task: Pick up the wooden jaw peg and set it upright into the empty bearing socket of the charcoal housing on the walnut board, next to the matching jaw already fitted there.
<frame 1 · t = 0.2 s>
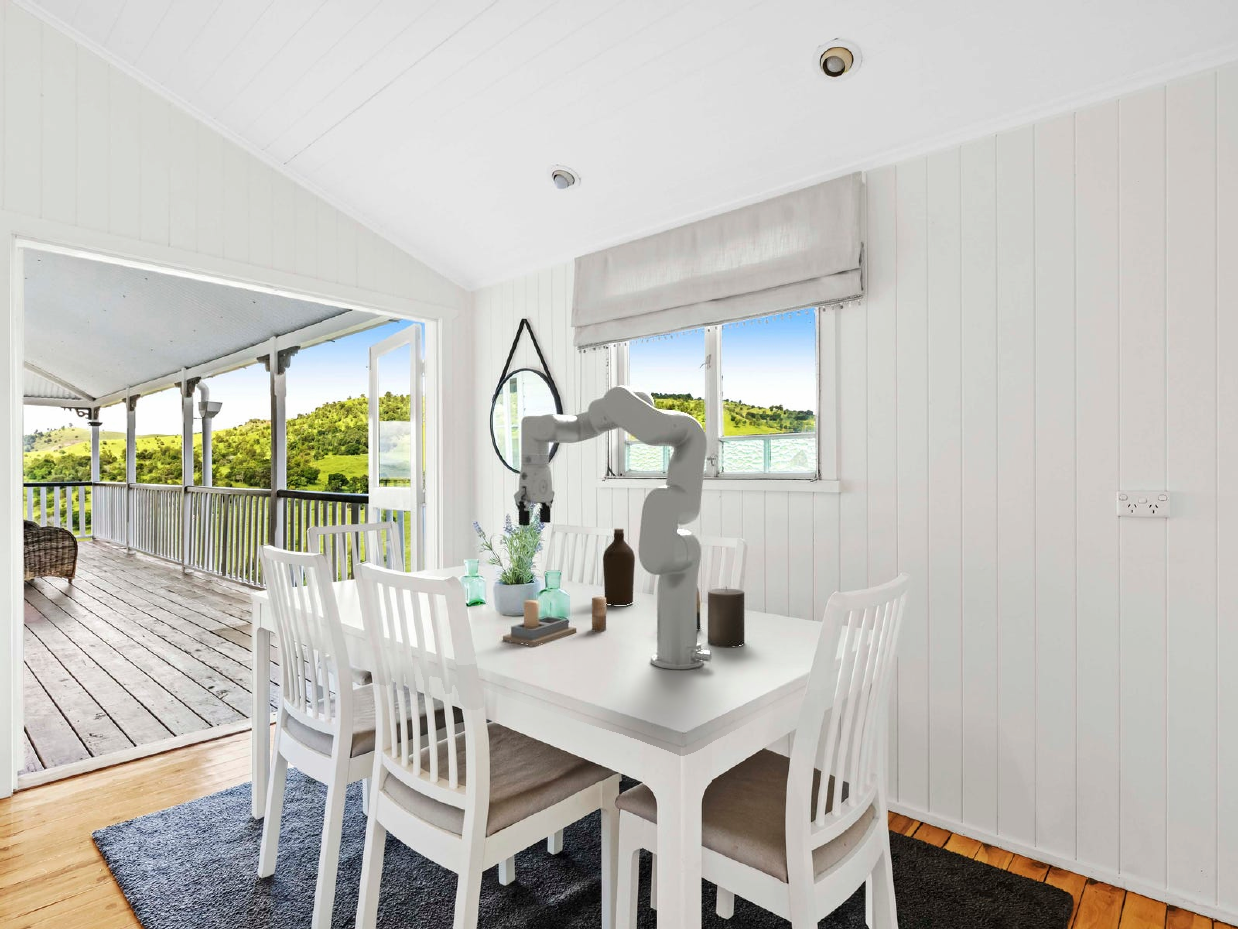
hand: (534, 523, 195), 31 cm above the table, tool pointing down, fingers open, 9 cm apart
jaw peg: (599, 629, 202), on the table
olive oil: (619, 604, 238), on the table
housing: (540, 636, 195), on the table
ammunition clip: (681, 629, 204), on the table
pillar candle: (725, 643, 188), on the table
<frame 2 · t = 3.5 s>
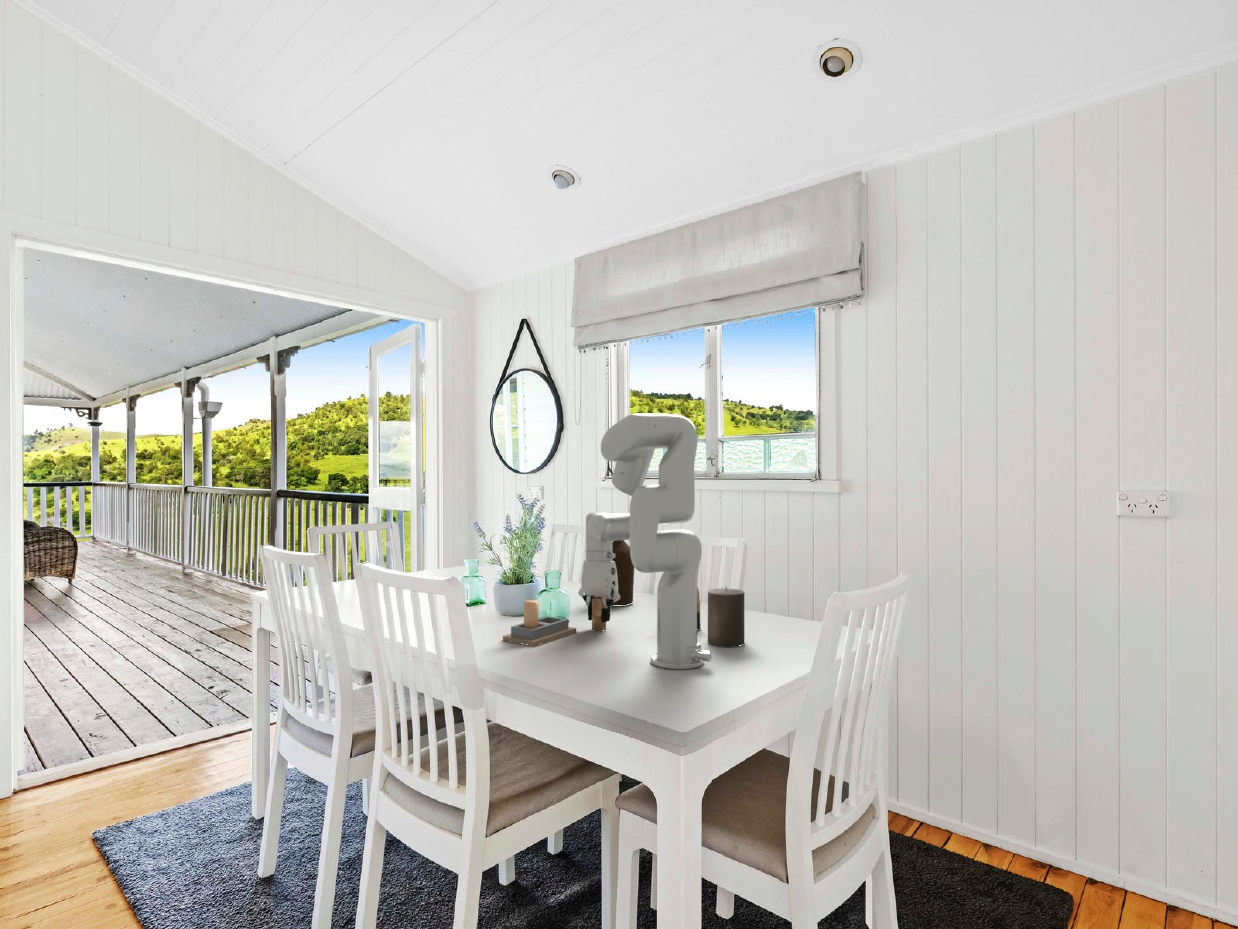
hand: (599, 619, 202), 3 cm above the table, tool pointing down, fingers closed on jaw peg, 4 cm apart
jaw peg: (599, 629, 202), on the table, touching gripper
everything else where it was.
when the fingers open (5 cm above the table, at t = 9.1 s): jaw peg stays where it is, resting on housing.
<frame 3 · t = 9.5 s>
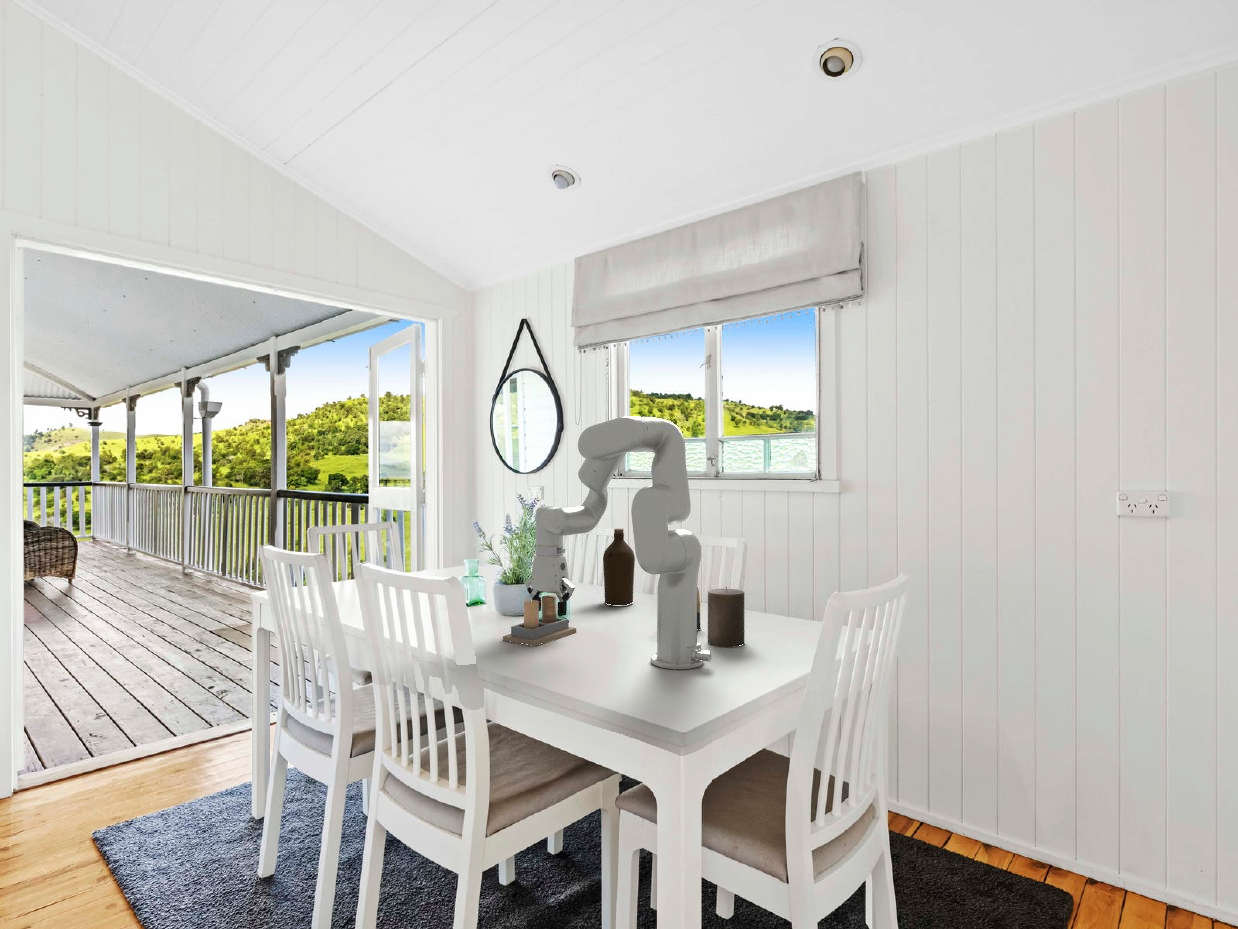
hand: (549, 613, 198), 6 cm above the table, tool pointing down, fingers open, 8 cm apart
jaw peg: (549, 629, 198), point 1 cm above the table, touching housing
everything else where it was.
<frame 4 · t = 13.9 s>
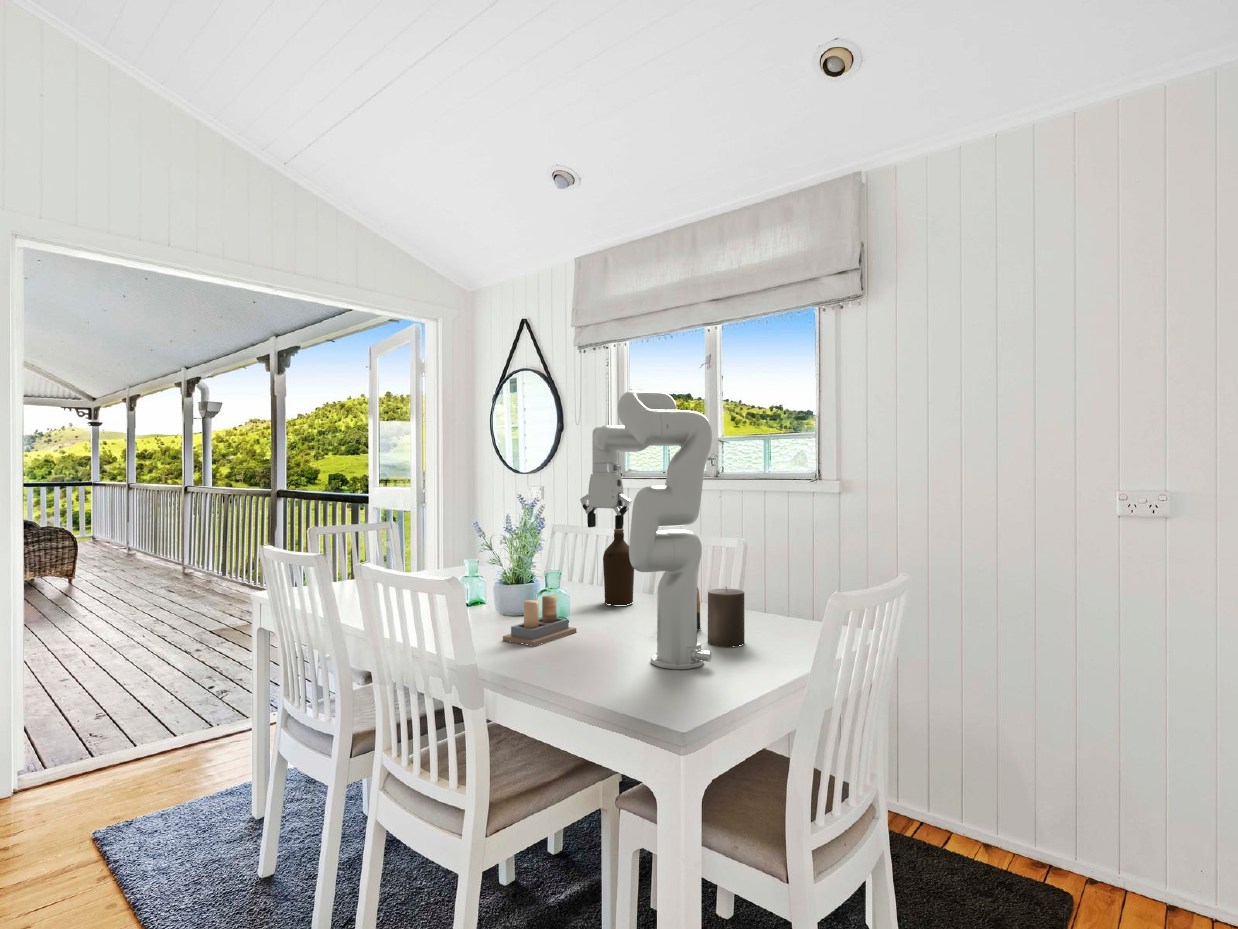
hand: (605, 527, 208), 28 cm above the table, tool pointing down, fingers open, 9 cm apart
nothing on the table moved.
at the end: jaw peg 0.0 cm from the target spot on the housing, point 1.2 cm above the housing's base; jaw peg tilted 0°; the gripper is holding nothing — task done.
